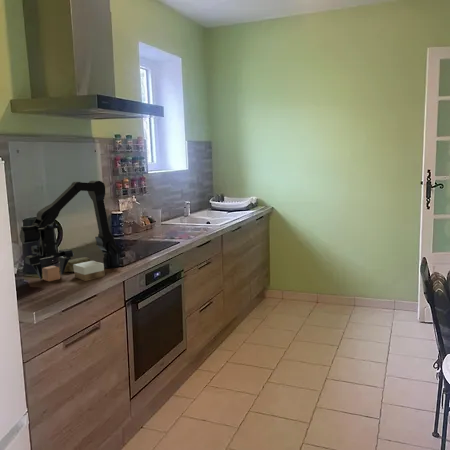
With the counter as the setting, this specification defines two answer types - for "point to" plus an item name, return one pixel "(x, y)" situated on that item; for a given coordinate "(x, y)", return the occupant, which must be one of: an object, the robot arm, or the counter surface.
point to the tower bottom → (89, 275)
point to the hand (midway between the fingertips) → (51, 276)
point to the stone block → (70, 263)
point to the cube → (51, 273)
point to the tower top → (88, 267)
